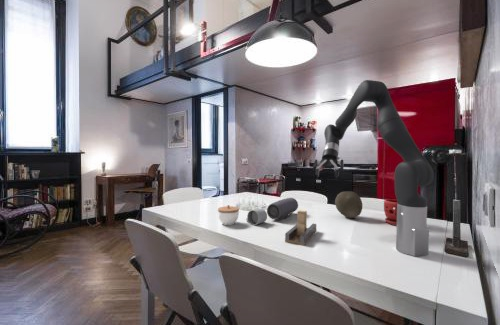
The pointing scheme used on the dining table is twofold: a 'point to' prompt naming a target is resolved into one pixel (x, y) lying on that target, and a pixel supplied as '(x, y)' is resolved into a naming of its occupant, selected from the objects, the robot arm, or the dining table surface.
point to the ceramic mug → (256, 216)
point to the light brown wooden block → (301, 221)
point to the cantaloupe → (348, 204)
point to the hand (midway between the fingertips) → (326, 176)
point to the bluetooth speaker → (282, 208)
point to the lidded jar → (228, 214)
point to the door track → (300, 239)
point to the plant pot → (390, 211)
